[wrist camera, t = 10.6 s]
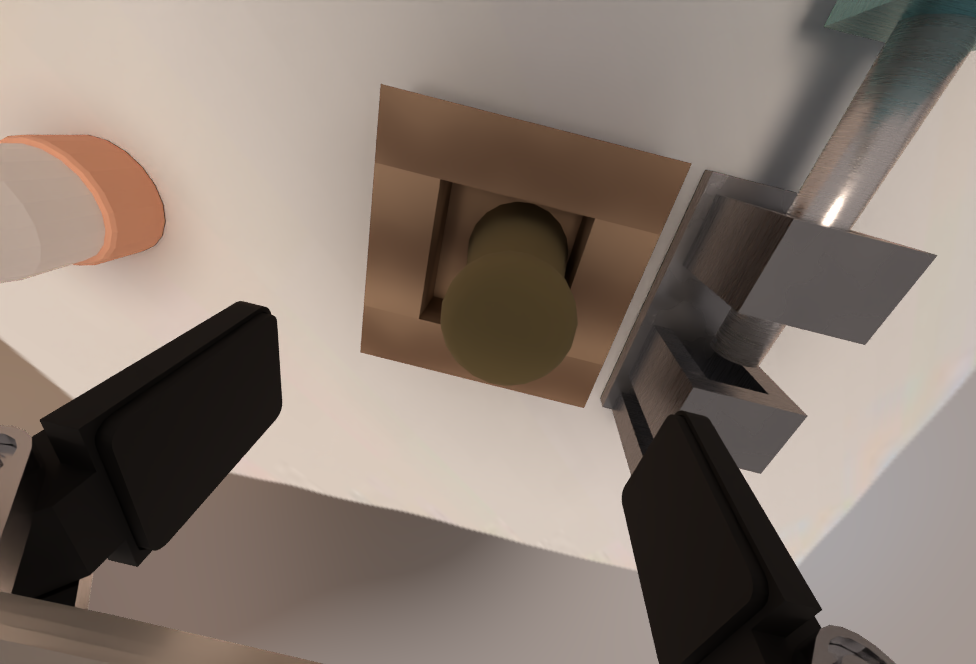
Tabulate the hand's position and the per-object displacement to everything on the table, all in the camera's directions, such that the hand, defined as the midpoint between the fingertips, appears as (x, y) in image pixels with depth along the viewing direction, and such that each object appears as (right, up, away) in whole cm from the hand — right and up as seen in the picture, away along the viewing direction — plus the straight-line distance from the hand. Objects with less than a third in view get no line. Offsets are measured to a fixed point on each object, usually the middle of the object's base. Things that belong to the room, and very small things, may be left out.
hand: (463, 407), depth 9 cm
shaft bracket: (+14, +3, +15) cm, 21 cm away
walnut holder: (+2, +7, +15) cm, 16 cm away
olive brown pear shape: (+2, +7, +14) cm, 16 cm away
